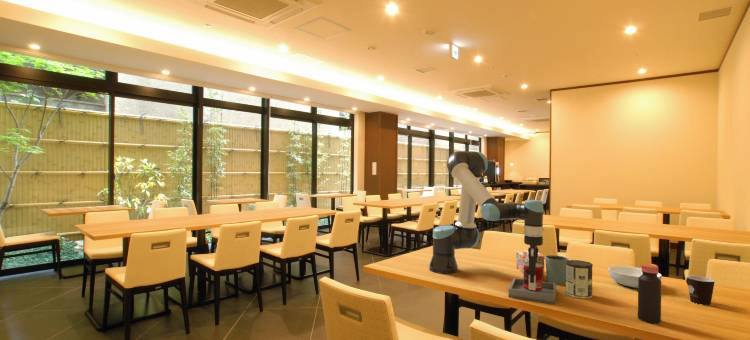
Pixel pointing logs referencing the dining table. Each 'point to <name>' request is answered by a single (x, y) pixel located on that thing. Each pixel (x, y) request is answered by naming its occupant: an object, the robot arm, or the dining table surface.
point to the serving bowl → (627, 275)
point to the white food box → (527, 260)
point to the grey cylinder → (556, 269)
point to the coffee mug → (700, 289)
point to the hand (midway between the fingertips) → (532, 286)
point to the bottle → (649, 294)
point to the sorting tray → (533, 292)
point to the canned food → (538, 276)
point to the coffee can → (579, 279)
